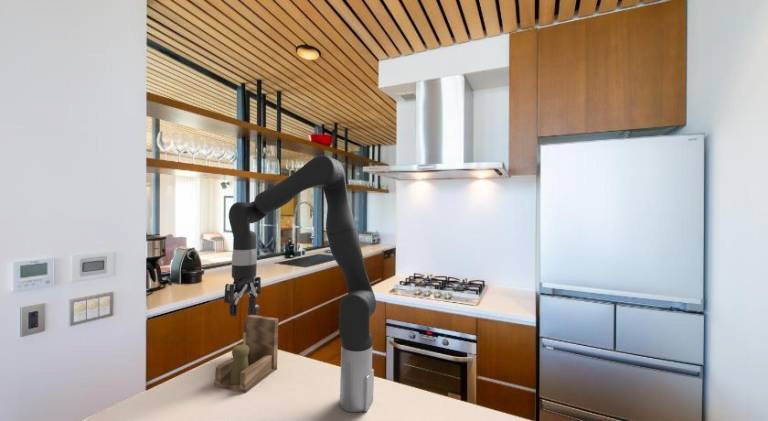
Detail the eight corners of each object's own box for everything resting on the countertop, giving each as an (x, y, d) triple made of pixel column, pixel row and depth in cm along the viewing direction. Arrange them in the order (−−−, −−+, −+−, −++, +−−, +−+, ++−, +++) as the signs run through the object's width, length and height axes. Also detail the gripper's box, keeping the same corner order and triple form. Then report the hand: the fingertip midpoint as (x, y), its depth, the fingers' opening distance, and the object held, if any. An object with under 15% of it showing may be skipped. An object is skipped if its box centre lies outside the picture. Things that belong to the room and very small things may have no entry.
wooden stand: (277, 368, 114) (278, 318, 114) (245, 392, 98) (247, 334, 99) (248, 363, 117) (250, 314, 117) (214, 386, 102) (215, 329, 102)
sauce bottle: (256, 362, 118) (257, 308, 118) (239, 361, 118) (241, 308, 119) (263, 354, 125) (264, 303, 125) (247, 354, 125) (248, 303, 125)
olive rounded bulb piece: (241, 373, 108) (242, 340, 108) (253, 378, 105) (254, 344, 105) (225, 381, 103) (226, 347, 103) (237, 386, 100) (238, 351, 100)
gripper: (238, 266, 97) (236, 320, 97) (267, 260, 111) (266, 307, 111) (218, 265, 99) (217, 317, 99) (249, 259, 113) (248, 304, 113)
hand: (243, 311), depth 105 cm, fingers open, 8 cm apart
